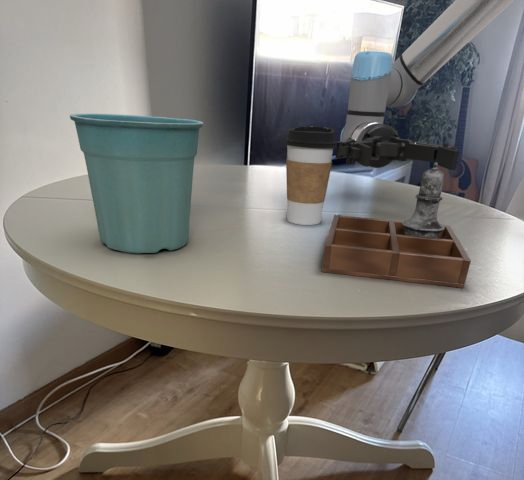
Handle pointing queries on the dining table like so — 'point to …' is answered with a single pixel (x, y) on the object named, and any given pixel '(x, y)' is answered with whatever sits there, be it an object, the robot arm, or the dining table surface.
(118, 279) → the dining table surface
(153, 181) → the flower pot
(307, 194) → the coffee cup
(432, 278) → the tray
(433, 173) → the salt shaker
